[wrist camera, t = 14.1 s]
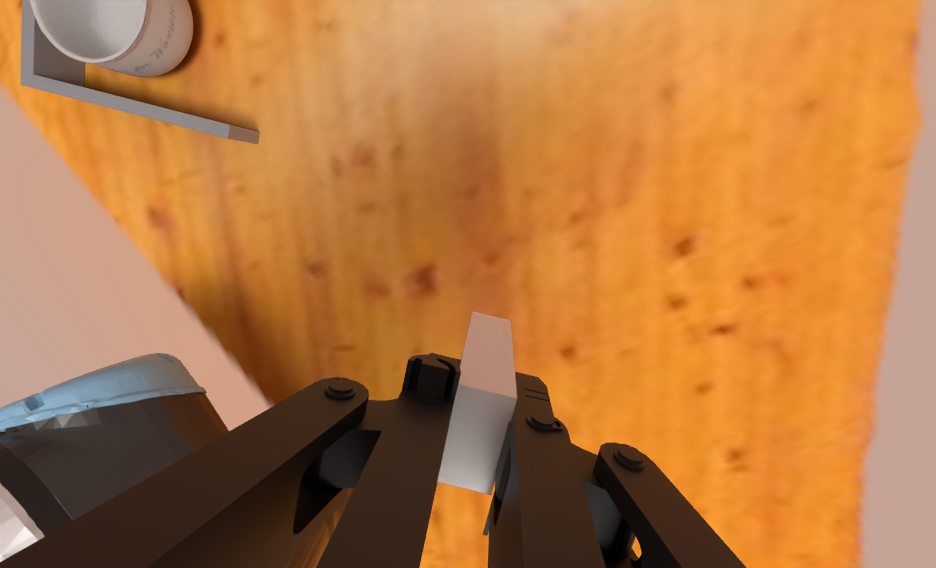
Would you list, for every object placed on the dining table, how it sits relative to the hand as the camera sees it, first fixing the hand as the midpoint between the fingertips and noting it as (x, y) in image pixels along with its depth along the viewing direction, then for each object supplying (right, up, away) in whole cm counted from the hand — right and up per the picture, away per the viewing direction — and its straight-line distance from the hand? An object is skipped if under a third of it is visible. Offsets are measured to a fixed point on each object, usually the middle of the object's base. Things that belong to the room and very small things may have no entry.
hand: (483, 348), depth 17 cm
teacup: (-30, +29, +26) cm, 49 cm away
